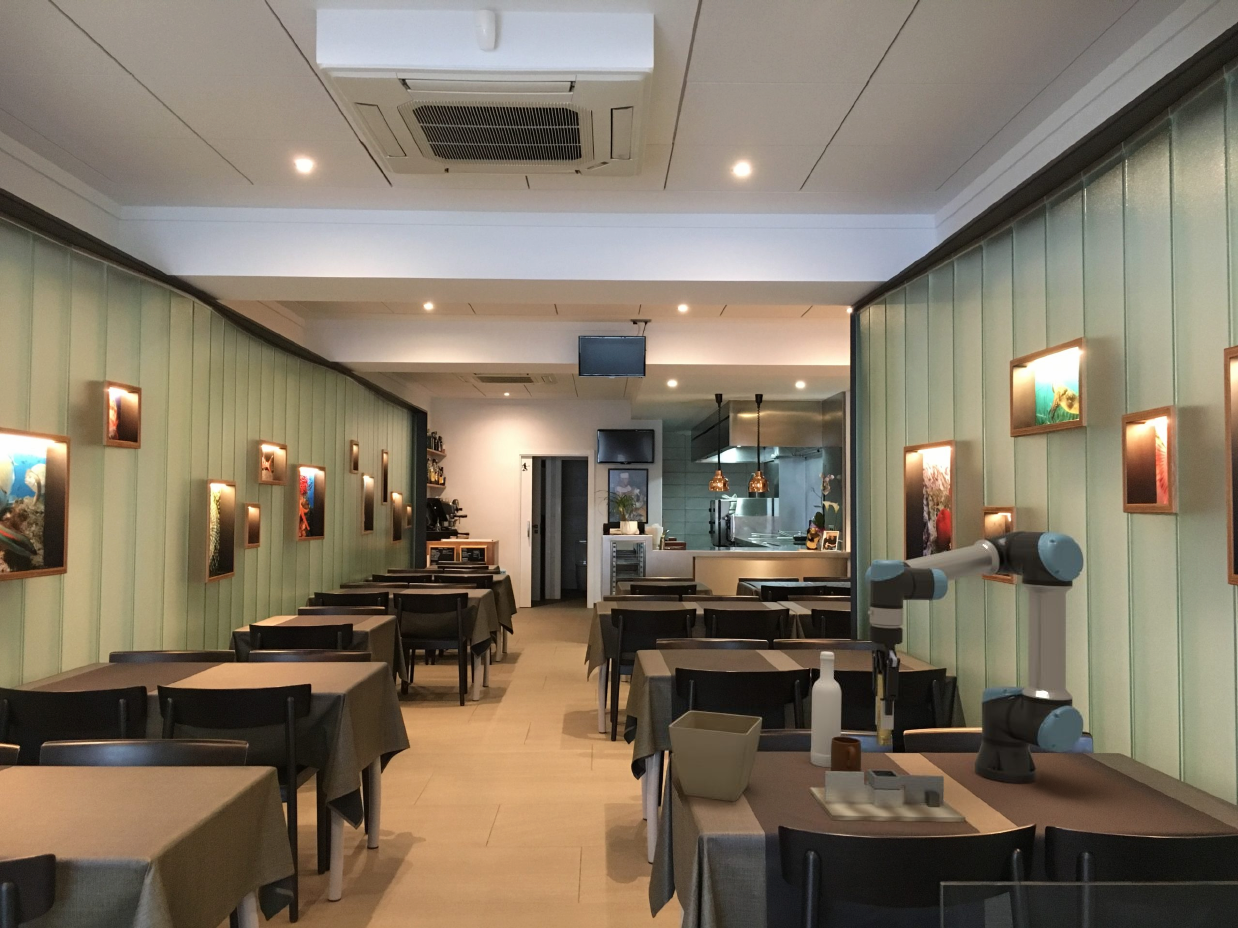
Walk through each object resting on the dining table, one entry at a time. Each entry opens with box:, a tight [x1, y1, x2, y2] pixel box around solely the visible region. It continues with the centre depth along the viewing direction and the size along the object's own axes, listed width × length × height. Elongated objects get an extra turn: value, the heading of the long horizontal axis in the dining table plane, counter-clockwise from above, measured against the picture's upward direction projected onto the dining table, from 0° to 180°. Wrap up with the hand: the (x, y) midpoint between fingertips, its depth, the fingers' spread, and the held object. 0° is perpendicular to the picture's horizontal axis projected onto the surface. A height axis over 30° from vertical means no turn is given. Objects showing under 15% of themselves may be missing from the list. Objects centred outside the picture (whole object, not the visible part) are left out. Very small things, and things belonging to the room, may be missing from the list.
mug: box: [830, 736, 862, 772], centre depth 233 cm, size 12×8×9 cm, turn 179°
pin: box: [876, 674, 892, 747], centre depth 212 cm, size 3×3×16 cm
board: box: [809, 787, 967, 823], centre depth 212 cm, size 30×20×1 cm, turn 92°
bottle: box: [810, 651, 842, 768], centre depth 247 cm, size 8×8×30 cm
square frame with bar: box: [866, 768, 945, 804], centre depth 211 cm, size 17×6×6 cm, turn 90°
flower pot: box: [668, 710, 763, 802], centre depth 220 cm, size 19×19×17 cm
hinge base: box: [824, 770, 940, 808], centre depth 211 cm, size 26×6×7 cm, turn 92°
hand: (884, 726), depth 212 cm, fingers closed on pin, 3 cm apart
